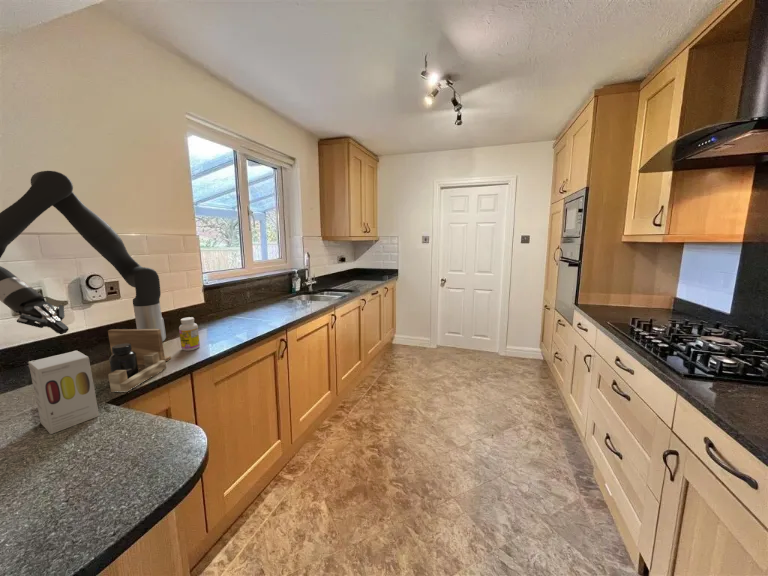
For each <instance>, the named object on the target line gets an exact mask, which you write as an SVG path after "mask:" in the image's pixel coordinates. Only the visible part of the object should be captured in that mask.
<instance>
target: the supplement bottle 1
mask: <svg viewBox="0 0 768 576" xmlns="http://www.w3.org/2000/svg"><path fill="white" fill-rule="evenodd" d="M131 350H132V348H131V344H130V343H124V344H118V345H115V346H113V347H112V353H113V355H112V353H111V356H110V357H109V359H108V361H109V369H110V373H112V372H114V371H116V370H126V372H127V378H128V379H129V378H130V377H132V376H134V375H135V374H137V373H139V372H140V370H139V364H138V363H137V356H136V353H135V352H134V351H131Z"/></svg>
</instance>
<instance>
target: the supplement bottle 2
mask: <svg viewBox="0 0 768 576" xmlns="http://www.w3.org/2000/svg"><path fill="white" fill-rule="evenodd" d="M180 323H181V324H180V325H179V327H178V330H179V339H180V348H181V350H182V351H186V352H188V351H189V352H190V351H193V350H194V351H195V350H197V349H199V348H200V347H201V343H200V335H199V327H198V324H197V323H195V318H194V317H193V316H191V317H190V316H188V317H183V318H181V319H180Z"/></svg>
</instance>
